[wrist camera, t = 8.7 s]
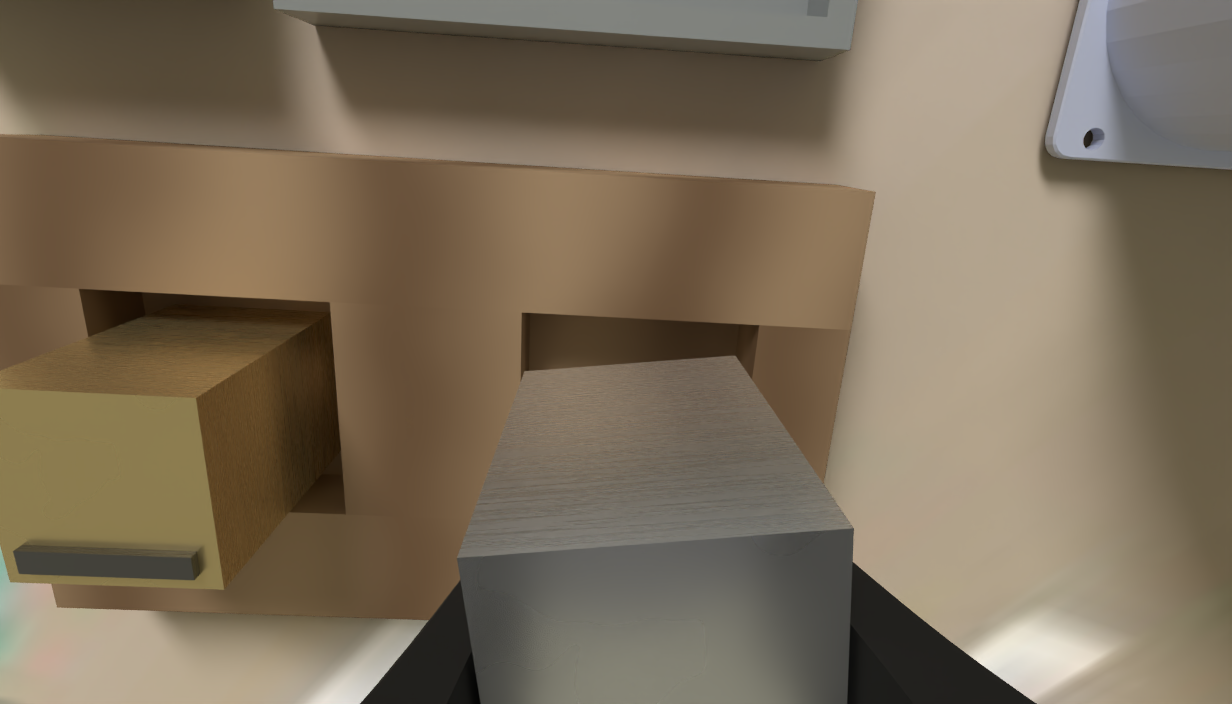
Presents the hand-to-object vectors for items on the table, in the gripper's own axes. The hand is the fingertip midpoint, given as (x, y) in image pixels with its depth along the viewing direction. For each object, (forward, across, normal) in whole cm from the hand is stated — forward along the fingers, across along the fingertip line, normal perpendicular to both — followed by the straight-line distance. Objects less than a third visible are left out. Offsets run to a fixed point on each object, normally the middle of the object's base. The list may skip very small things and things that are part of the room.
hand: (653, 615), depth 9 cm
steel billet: (+4, 0, -1) cm, 4 cm away
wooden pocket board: (+9, +5, 0) cm, 11 cm away
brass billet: (+9, +10, -1) cm, 13 cm away
